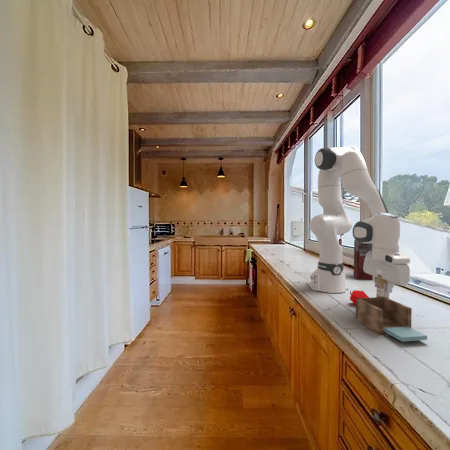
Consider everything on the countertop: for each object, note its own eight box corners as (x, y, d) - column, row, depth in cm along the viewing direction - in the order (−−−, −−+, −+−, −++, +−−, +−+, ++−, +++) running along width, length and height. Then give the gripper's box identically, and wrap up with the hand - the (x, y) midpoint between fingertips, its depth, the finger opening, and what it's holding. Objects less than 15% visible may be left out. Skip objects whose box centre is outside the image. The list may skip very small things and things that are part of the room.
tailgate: (384, 327, 84) (401, 337, 77) (407, 326, 85) (427, 335, 78) (384, 331, 84) (401, 341, 77) (407, 330, 85) (427, 339, 78)
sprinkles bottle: (373, 301, 105) (374, 268, 104) (383, 301, 105) (385, 268, 104) (380, 305, 100) (382, 271, 99) (392, 305, 100) (394, 271, 100)
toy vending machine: (356, 280, 154) (357, 232, 153) (353, 276, 165) (354, 231, 164) (373, 281, 151) (374, 233, 150) (369, 277, 162) (370, 232, 161)
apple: (372, 292, 112) (353, 283, 115) (371, 299, 107) (351, 290, 110) (365, 304, 115) (346, 296, 118) (364, 312, 109) (345, 303, 112)
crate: (355, 319, 96) (356, 298, 95) (384, 318, 97) (384, 296, 97) (379, 334, 84) (379, 310, 84) (411, 332, 85) (411, 308, 85)
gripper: (360, 250, 111) (358, 282, 112) (398, 260, 91) (395, 299, 92) (373, 250, 112) (372, 282, 113) (414, 259, 92) (411, 298, 93)
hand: (383, 289), depth 102 cm, fingers closed on sprinkles bottle, 4 cm apart
